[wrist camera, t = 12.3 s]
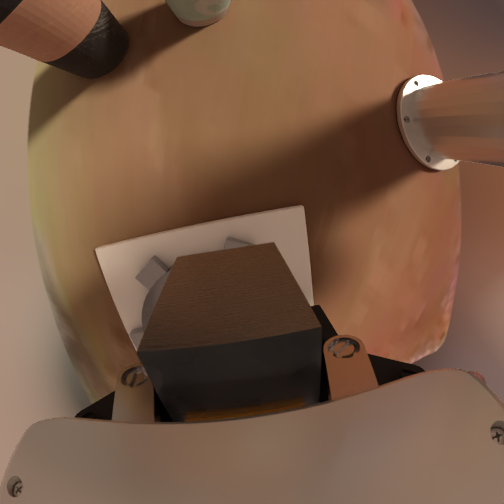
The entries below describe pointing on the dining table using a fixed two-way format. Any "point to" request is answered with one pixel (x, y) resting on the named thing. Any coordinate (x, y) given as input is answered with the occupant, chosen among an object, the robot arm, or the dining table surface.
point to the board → (200, 241)
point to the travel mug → (64, 34)
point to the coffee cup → (199, 11)
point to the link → (232, 337)
